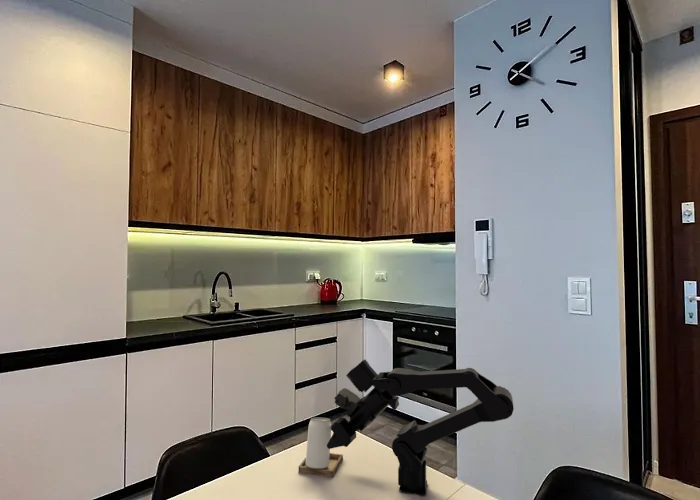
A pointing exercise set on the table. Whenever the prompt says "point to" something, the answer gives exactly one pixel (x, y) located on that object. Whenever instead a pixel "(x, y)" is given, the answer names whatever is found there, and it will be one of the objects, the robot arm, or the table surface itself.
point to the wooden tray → (329, 471)
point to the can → (318, 443)
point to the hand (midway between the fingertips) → (335, 440)
